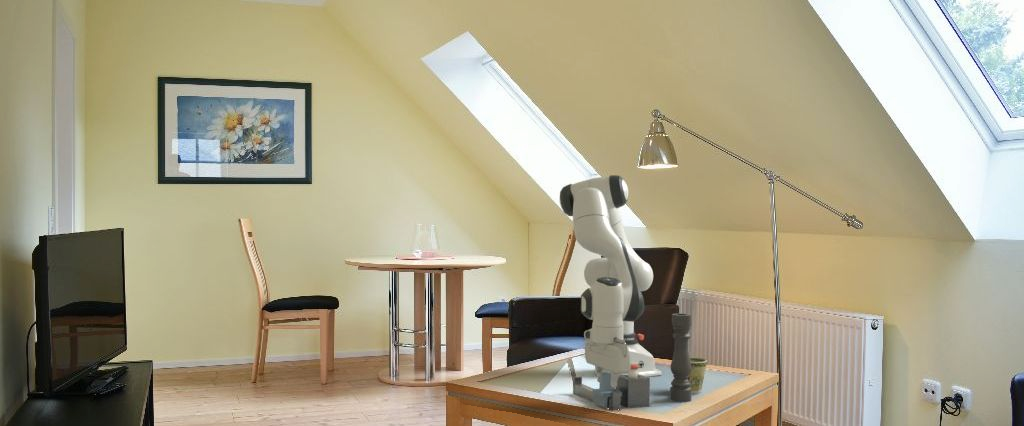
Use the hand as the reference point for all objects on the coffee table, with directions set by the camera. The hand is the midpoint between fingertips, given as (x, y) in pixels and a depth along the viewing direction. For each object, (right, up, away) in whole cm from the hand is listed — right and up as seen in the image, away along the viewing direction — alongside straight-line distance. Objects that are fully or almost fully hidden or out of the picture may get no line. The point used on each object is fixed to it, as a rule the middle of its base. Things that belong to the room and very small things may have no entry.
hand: (607, 384), depth 250 cm
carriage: (0, -6, 0) cm, 6 cm away
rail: (-3, -6, +6) cm, 9 cm away
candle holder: (+23, -7, +10) cm, 26 cm away
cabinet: (+8, -6, +3) cm, 10 cm away
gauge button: (+8, -1, +3) cm, 8 cm away
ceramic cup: (+28, -7, +23) cm, 37 cm away
